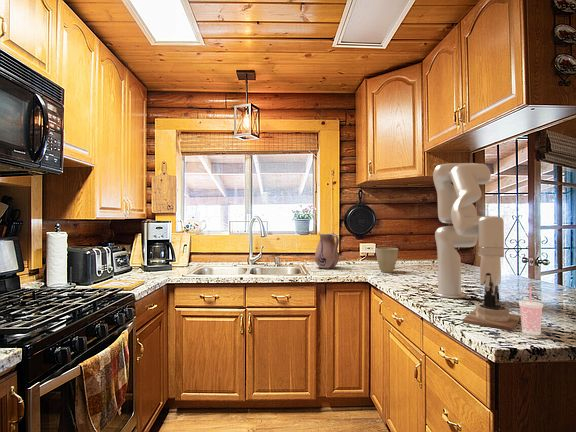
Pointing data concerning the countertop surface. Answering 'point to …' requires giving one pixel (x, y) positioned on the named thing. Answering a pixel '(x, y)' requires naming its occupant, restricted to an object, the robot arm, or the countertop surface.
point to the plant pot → (386, 259)
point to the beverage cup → (531, 316)
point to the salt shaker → (497, 304)
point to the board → (493, 318)
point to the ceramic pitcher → (327, 251)
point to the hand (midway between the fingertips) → (491, 304)
